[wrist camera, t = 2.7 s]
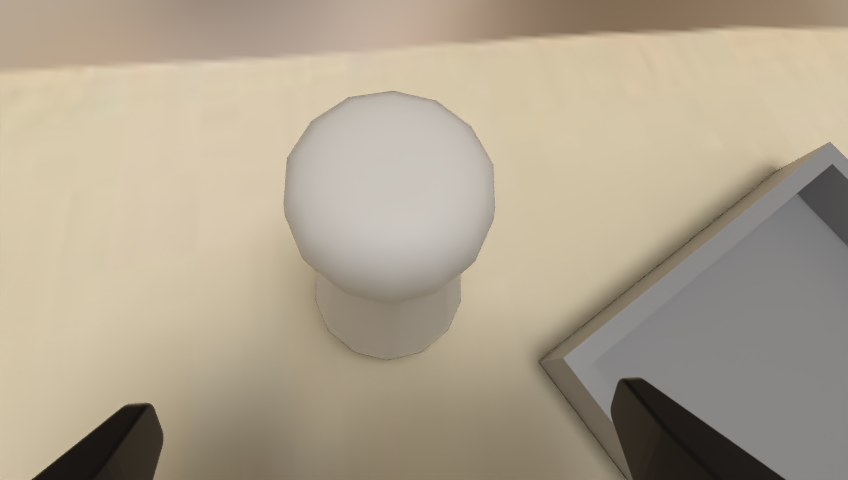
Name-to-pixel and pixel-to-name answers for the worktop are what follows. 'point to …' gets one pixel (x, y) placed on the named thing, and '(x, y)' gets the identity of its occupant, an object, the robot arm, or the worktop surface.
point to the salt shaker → (389, 217)
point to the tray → (738, 327)
